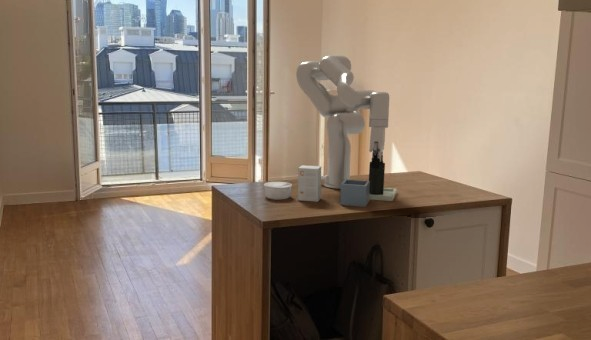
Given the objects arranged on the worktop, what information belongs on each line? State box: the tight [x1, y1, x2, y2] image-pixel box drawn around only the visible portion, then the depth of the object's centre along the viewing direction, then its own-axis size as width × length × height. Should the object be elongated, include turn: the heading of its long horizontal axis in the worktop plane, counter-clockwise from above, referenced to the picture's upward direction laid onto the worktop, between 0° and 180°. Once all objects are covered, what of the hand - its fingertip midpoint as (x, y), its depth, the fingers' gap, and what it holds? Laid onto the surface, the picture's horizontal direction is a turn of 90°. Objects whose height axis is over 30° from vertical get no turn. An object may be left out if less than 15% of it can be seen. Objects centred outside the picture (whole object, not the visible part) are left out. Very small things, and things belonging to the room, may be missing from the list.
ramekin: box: [263, 181, 293, 201], centre depth 238 cm, size 11×11×5 cm
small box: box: [297, 164, 322, 203], centre depth 234 cm, size 8×6×13 cm
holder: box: [339, 179, 370, 208], centre depth 230 cm, size 10×10×8 cm
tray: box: [369, 187, 397, 202], centre depth 243 cm, size 15×15×2 cm
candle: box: [368, 152, 386, 195], centre depth 241 cm, size 5×5×25 cm
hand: (377, 166), depth 241 cm, fingers open, 8 cm apart
